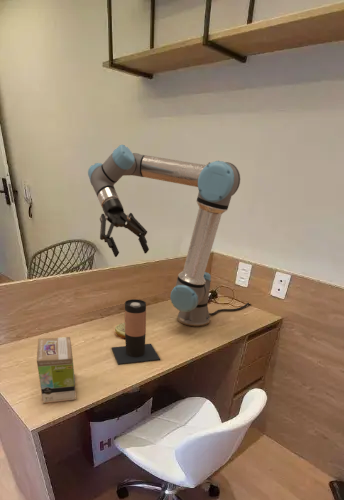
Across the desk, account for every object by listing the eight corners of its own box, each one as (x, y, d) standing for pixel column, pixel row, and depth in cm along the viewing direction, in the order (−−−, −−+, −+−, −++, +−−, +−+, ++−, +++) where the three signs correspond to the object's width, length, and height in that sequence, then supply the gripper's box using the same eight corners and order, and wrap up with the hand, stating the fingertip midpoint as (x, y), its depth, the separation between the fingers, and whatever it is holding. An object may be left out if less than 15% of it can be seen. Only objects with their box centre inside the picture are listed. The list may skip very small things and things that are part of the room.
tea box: (77, 400, 104) (72, 357, 96) (42, 404, 101) (34, 361, 93) (74, 374, 116) (70, 335, 108) (43, 377, 113) (36, 337, 105)
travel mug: (134, 346, 135) (134, 297, 124) (149, 352, 131) (150, 302, 120) (121, 353, 129) (119, 302, 118) (136, 359, 126) (136, 308, 115)
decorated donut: (129, 342, 139) (129, 333, 137) (110, 334, 144) (109, 326, 142) (145, 334, 146) (145, 326, 144) (126, 327, 151) (126, 319, 149)
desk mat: (150, 344, 138) (150, 343, 138) (160, 360, 128) (160, 358, 128) (111, 348, 133) (111, 347, 133) (118, 365, 123) (118, 363, 123)
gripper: (134, 210, 141) (154, 255, 140) (78, 211, 127) (100, 262, 126) (141, 197, 135) (162, 244, 134) (84, 197, 121) (106, 250, 120)
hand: (132, 253), depth 130 cm, fingers open, 13 cm apart
